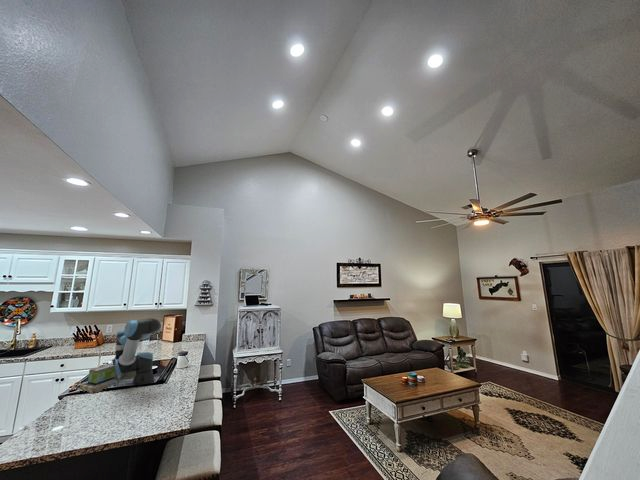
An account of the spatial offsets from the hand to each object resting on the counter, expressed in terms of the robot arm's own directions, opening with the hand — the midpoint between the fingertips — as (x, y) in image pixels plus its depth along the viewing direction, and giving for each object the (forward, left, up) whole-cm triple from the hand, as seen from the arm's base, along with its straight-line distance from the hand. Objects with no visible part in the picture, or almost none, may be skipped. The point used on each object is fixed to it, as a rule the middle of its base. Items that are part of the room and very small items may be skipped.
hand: (119, 377), depth 236 cm
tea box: (+1, +13, -2) cm, 13 cm away
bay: (-1, +19, -2) cm, 20 cm away
